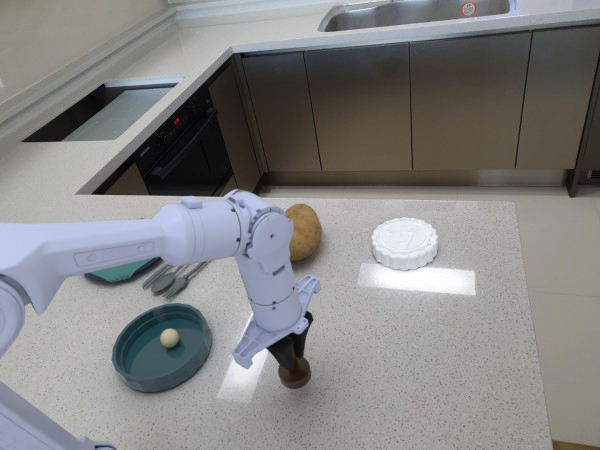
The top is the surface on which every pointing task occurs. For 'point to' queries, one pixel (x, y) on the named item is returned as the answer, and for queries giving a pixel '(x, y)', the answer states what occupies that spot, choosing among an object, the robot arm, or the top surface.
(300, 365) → the wooden pestle
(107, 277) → the cutlery set
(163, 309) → the bowl
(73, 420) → the top surface
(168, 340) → the dough ball
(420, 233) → the mooncake
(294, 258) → the potato
